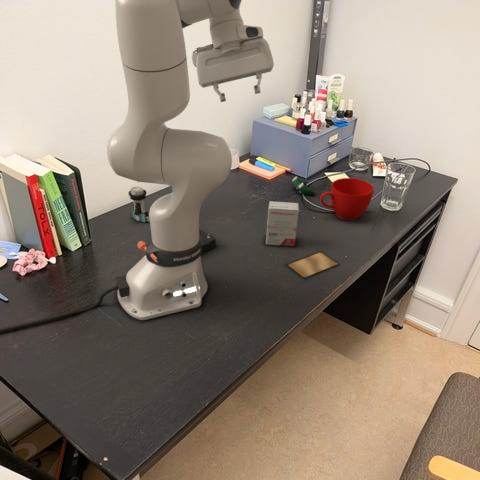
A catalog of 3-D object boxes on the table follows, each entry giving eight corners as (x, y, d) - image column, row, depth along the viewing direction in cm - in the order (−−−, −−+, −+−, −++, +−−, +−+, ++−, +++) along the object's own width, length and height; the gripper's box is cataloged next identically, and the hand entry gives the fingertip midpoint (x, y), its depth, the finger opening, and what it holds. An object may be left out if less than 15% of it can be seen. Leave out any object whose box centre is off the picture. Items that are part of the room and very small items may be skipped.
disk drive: (216, 246, 129) (182, 227, 136) (216, 237, 127) (182, 219, 134) (190, 260, 123) (156, 239, 130) (190, 251, 121) (155, 231, 128)
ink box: (294, 238, 133) (299, 202, 125) (294, 247, 129) (299, 210, 122) (266, 236, 134) (269, 200, 126) (265, 244, 130) (268, 208, 122)
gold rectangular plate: (304, 278, 118) (304, 277, 118) (287, 265, 122) (288, 264, 122) (337, 264, 123) (337, 263, 123) (320, 253, 127) (320, 252, 127)
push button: (156, 219, 139) (153, 189, 133) (144, 226, 136) (141, 196, 129) (140, 213, 142) (136, 184, 135) (128, 220, 138) (124, 190, 132)
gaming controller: (298, 190, 163) (288, 180, 159) (305, 182, 161) (296, 172, 158) (308, 201, 156) (298, 191, 152) (316, 193, 155) (306, 183, 151)
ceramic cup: (309, 209, 147) (313, 180, 141) (355, 204, 151) (362, 176, 145) (325, 228, 138) (330, 198, 132) (374, 222, 142) (381, 193, 135)
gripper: (188, 45, 112) (201, 103, 116) (268, 26, 111) (278, 85, 115) (191, 53, 118) (203, 108, 122) (266, 35, 117) (276, 91, 121)
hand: (240, 97), depth 118 cm, fingers open, 8 cm apart
